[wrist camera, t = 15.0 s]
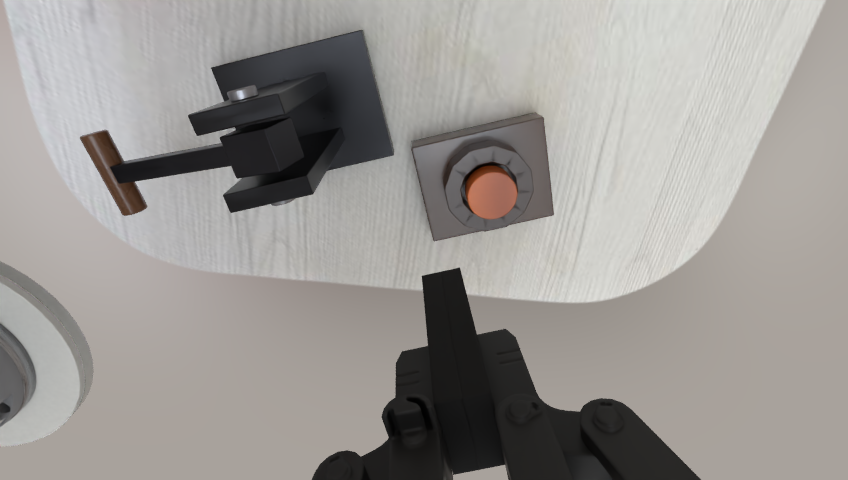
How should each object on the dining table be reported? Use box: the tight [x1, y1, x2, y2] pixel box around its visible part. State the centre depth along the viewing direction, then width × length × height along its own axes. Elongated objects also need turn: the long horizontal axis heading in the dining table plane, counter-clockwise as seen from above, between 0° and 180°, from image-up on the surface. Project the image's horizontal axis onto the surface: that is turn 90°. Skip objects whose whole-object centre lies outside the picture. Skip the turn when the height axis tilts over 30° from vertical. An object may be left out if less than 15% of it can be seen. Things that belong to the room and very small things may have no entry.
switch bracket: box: [188, 30, 394, 213], centre depth 28 cm, size 11×9×14 cm
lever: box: [80, 117, 304, 216], centre depth 25 cm, size 13×5×2 cm, turn 103°
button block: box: [411, 113, 554, 241], centre depth 35 cm, size 10×8×4 cm
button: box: [465, 166, 518, 219], centre depth 32 cm, size 4×4×2 cm
